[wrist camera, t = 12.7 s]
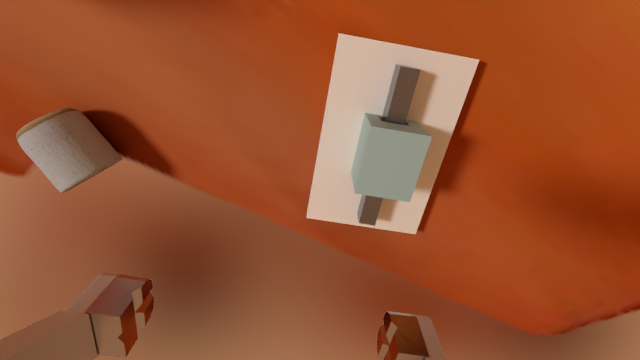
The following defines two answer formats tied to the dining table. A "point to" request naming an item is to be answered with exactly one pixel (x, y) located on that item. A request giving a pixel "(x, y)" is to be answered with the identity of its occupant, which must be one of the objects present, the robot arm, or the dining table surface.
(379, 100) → the mounting board
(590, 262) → the dining table surface
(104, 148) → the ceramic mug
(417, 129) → the channel block
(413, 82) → the metal rail
